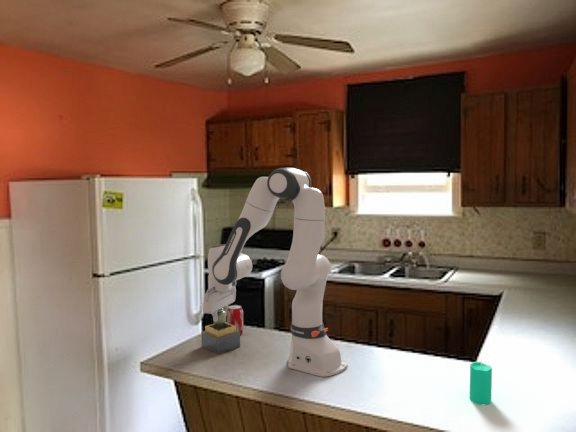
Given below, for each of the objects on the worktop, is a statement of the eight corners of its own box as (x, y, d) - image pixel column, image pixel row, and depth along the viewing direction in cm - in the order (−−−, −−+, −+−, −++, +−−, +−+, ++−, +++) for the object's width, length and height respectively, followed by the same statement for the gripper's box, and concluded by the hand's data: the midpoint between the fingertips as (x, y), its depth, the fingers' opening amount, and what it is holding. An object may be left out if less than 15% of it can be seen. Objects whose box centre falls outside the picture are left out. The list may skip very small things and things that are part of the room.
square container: (240, 346, 188) (239, 326, 188) (217, 353, 181) (217, 332, 180) (224, 340, 196) (223, 320, 196) (201, 346, 189) (201, 326, 188)
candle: (466, 395, 144) (466, 357, 143) (484, 395, 144) (485, 357, 143) (475, 405, 138) (476, 365, 137) (495, 404, 138) (496, 364, 137)
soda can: (240, 336, 200) (240, 309, 200) (224, 335, 202) (224, 308, 201) (245, 331, 207) (244, 304, 206) (230, 330, 209) (229, 304, 208)
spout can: (228, 327, 188) (228, 306, 187) (218, 329, 185) (218, 308, 184) (221, 324, 191) (221, 303, 191) (211, 326, 188) (211, 305, 187)
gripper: (212, 291, 176) (213, 327, 177) (238, 280, 195) (238, 312, 196) (198, 289, 178) (199, 325, 179) (224, 279, 197) (225, 311, 198)
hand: (220, 318), depth 188 cm, fingers closed on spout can, 5 cm apart
